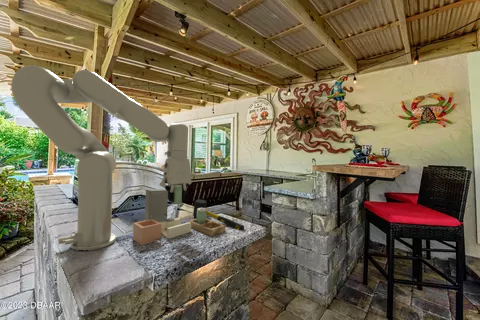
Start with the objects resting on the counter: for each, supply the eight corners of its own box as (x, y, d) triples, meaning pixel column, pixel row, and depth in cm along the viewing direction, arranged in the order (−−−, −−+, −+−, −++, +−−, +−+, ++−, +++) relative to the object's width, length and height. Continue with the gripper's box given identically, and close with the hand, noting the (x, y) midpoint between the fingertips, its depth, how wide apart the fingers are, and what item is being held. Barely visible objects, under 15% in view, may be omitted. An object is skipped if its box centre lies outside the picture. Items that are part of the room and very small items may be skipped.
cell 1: (174, 204, 78) (175, 184, 78) (169, 203, 81) (169, 183, 81) (183, 203, 81) (184, 183, 81) (178, 201, 84) (178, 182, 84)
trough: (210, 237, 79) (211, 230, 79) (187, 227, 89) (187, 220, 89) (225, 232, 85) (225, 225, 85) (202, 223, 95) (202, 217, 95)
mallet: (246, 230, 89) (247, 208, 89) (239, 234, 84) (240, 211, 84) (198, 216, 105) (199, 198, 105) (190, 219, 100) (191, 200, 100)
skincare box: (148, 228, 85) (149, 191, 85) (143, 223, 91) (144, 188, 90) (168, 224, 91) (169, 189, 91) (162, 220, 96) (163, 187, 96)
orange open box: (141, 245, 70) (142, 228, 70) (132, 239, 74) (133, 222, 74) (160, 239, 75) (161, 223, 75) (151, 234, 80) (152, 218, 80)
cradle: (168, 240, 74) (168, 227, 74) (156, 233, 81) (156, 221, 80) (190, 233, 82) (191, 221, 82) (178, 227, 88) (178, 216, 88)
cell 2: (200, 228, 86) (201, 209, 86) (194, 225, 89) (195, 208, 89) (207, 226, 89) (208, 208, 89) (201, 223, 92) (202, 206, 92)
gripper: (162, 155, 72) (161, 206, 72) (200, 155, 84) (199, 199, 85) (152, 154, 77) (151, 202, 77) (189, 155, 89) (188, 196, 90)
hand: (176, 200), depth 81 cm, fingers closed on cell 1, 4 cm apart
